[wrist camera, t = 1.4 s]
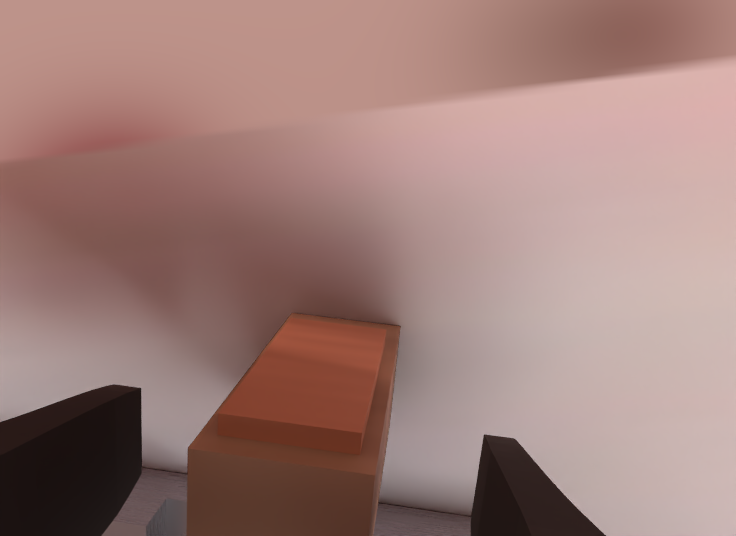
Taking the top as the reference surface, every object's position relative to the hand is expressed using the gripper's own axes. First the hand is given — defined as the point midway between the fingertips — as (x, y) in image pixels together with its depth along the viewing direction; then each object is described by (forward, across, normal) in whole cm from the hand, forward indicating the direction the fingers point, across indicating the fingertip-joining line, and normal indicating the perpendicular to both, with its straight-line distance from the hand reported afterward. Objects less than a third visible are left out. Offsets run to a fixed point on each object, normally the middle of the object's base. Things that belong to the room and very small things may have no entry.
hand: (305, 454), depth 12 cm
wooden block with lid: (+4, 0, 0) cm, 4 cm away
